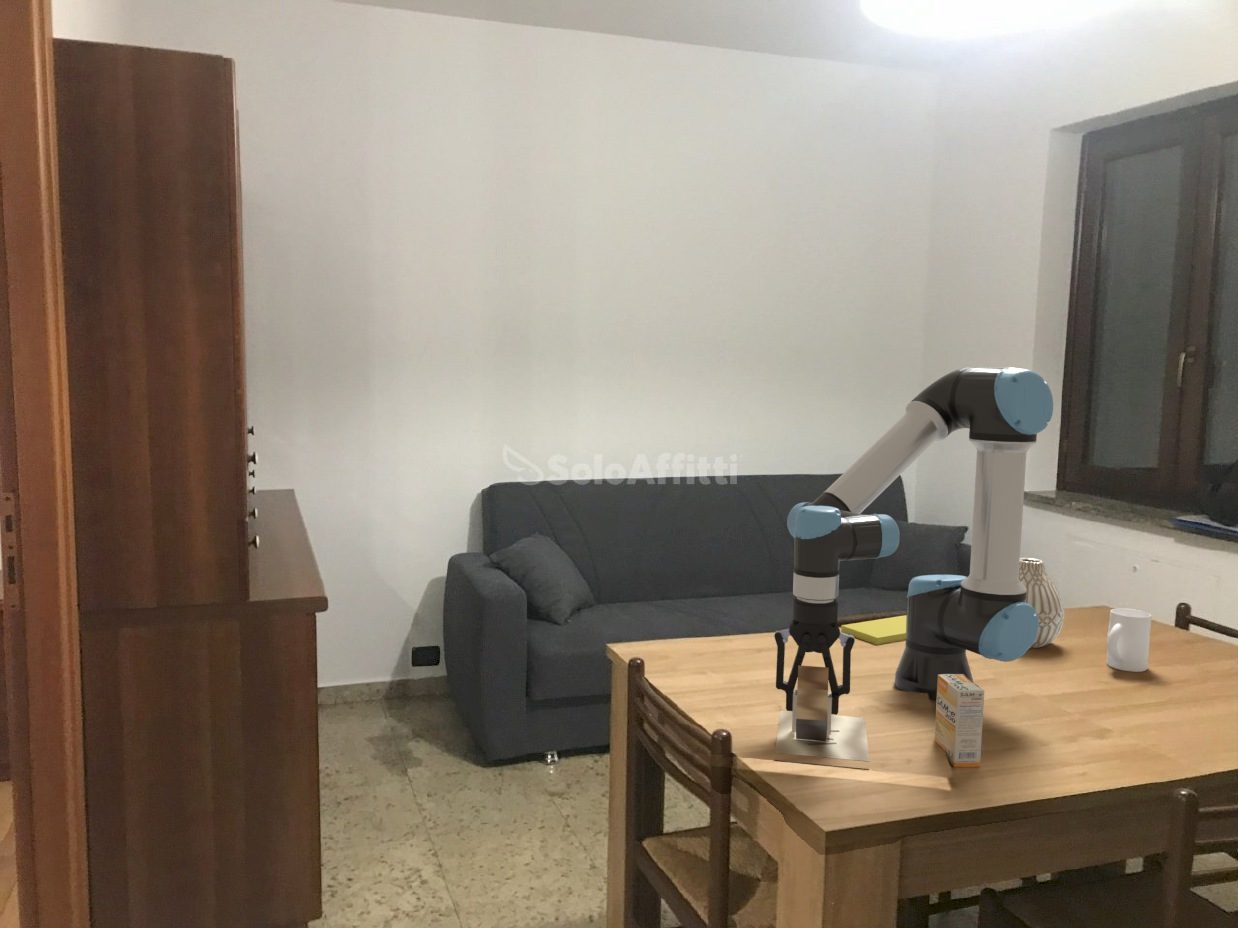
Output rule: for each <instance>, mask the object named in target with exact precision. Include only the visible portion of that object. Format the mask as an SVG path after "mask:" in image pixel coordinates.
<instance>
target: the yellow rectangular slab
mask: <svg viewBox="0 0 1238 928" xmlns="http://www.w3.org/2000/svg"><path fill="white" fill-rule="evenodd" d="M906 618H907V614H905V615H898V616H892V617H885V618H879V619H874V620H873V619H872V620H867V621H861V622H856V623H855V622H854V623H848V624H841V627H840V628H841V629H840V632H843V633H845V634H852V635H854V638H857V639H860V640H863V641H865V642H868V643H872V644H874V645H876V646H878V645H884V644H889V643H895V642H900V641H906Z"/></svg>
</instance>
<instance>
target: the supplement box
mask: <svg viewBox="0 0 1238 928" xmlns="http://www.w3.org/2000/svg"><path fill="white" fill-rule="evenodd" d="M984 703H985V690H984V689H983V688H981V687H980V686H979V685H977V684H976V683H975V682H974V681H973V682H972V681H971V680H970V679H968V678H967V677H966V676H965V675H963V674H940V675H938V683H937V699H936V706H935V708H936V709H935V724H934V725H935V726H934V741H935V742H936V743H937V744H938V745H939V746H940V747H941V748H942V749H943V750H944V751H945V755H946V758H947V761H948V762H949V763H950V765H952V767H954V768H967V767H968V768H970V767H971V768H975V767H980V766H981V756H982V755H981V752H982V738H983V737H982V735H983V724H984V723H983V721H984V720H983V719H984V705H985V704H984Z"/></svg>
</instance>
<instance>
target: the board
mask: <svg viewBox="0 0 1238 928" xmlns="http://www.w3.org/2000/svg"><path fill="white" fill-rule="evenodd" d="M792 712H793V711H787V710H780V712H779V719H778V726H777V728H778V729H777V736H776V742H775V743H776V744H775V749H774V753H775V754H786V755H796V756H797V755H798V756H807V757H809V756H810V757H818V758H828V759H837V760H838V759H839V760H847V761H857V762H870V754H869V745H868V737H867V735H868V734H867V727H866V718H865V717H862V716H861V717H859V716H849V715H838V714H837V715H834V714H831V735H827V737H826V741H815V740H804V739H796V732H792ZM774 762H781V763H792V764H800V765H801V764H802V765H812V766H821V767H832V768H841V769H851V770H862V771H863V770H864V771H870V769H869V768H863V767H861V768H859V767H852V766H843V765H841V766H840V765H832V764H823V763H822V764H820V763H811V762H800V761H791V760H782V759H781V760H779V759H774Z"/></svg>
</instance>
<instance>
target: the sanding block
mask: <svg viewBox="0 0 1238 928" xmlns="http://www.w3.org/2000/svg"><path fill="white" fill-rule="evenodd" d="M828 671H829V667H825V666H824V667H823V666H815V665H814V666H813V665H812V666H811V665H801V666H800V665H798V678H797V686H796V687H797V689H796V690H797V712H796V739H804V740H815V741H826V737H827V721H828V692H829V680H828Z"/></svg>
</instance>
